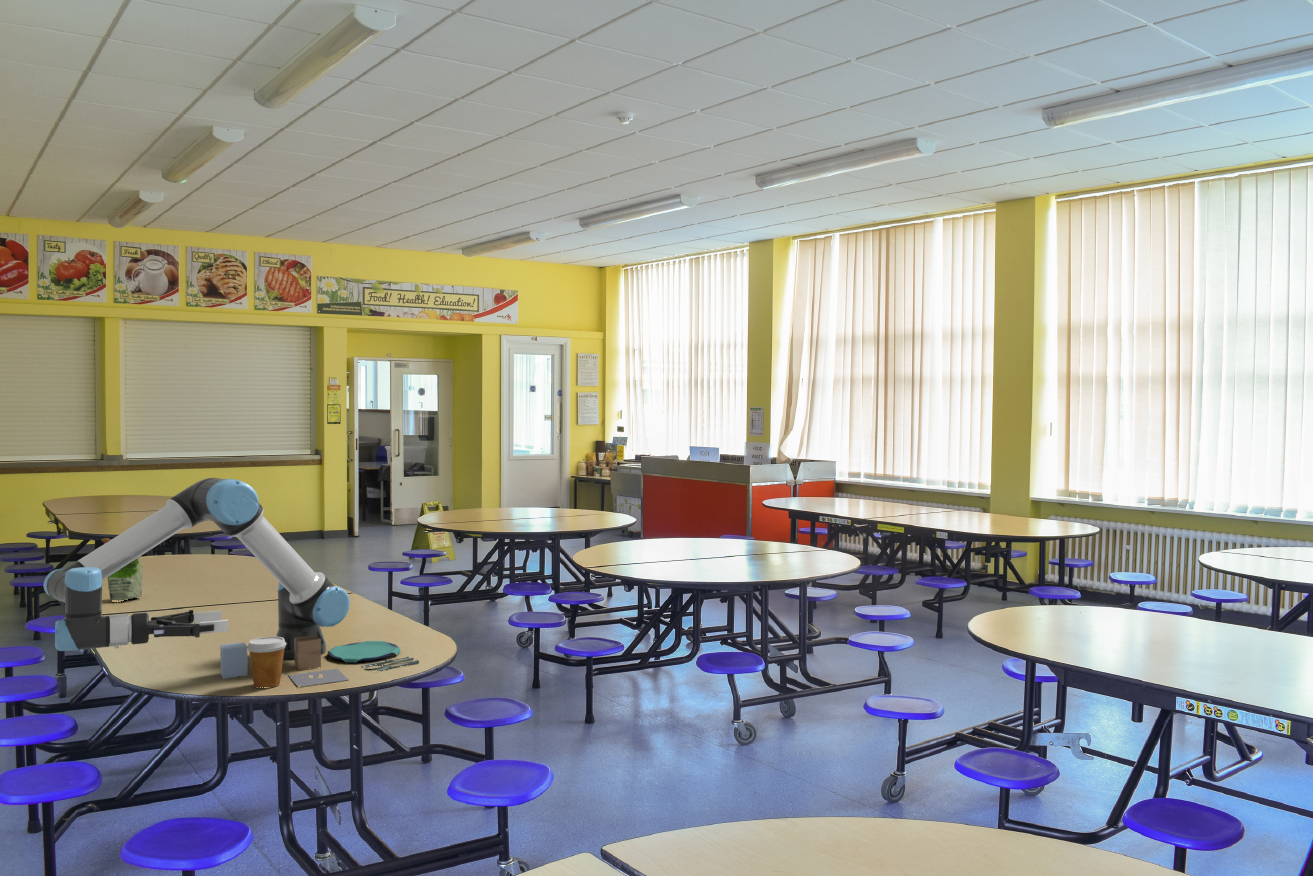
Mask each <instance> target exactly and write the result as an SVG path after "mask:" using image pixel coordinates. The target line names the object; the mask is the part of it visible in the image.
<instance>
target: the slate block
mask: <svg viewBox="0 0 1313 876" xmlns="http://www.w3.org/2000/svg"><path fill="white" fill-rule="evenodd" d="M247 646H248V645H247V644H246V642H245V641H244V642H243V641H242V642H233V643H225V644H220V648H219V649H220V675H221V677H222V679H232V678H231V677H233V678H239V677H238V676H240V677H245V675H247V676H248V648H247Z"/></svg>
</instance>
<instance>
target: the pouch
mask: <svg viewBox="0 0 1313 876" xmlns="http://www.w3.org/2000/svg"><path fill="white" fill-rule="evenodd" d="M112 539H113V538H112ZM112 539H110V538H108V537H104V538H101V541H102V543H103V545H104V544H105V543H107V542H109V541H110V540H112ZM106 579H107V585H108V587H107V589H108V591H109V593H108V594H109V600H110V601H111V600H118V601H119V600H127V599H132V600H134V599H133V598H137V597H141V598H142V593H143V566H142V555H141V556H140V557H138V558H137V559H135V560H133V561H132V562H130V563H129V564H127V565H126V566H124V567H123V568H121V569H119V570H118V571H116V572H115V573H113V574H112V575H110V576H108V577H107V578H106ZM127 601H128V600H127Z"/></svg>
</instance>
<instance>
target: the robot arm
mask: <svg viewBox="0 0 1313 876" xmlns="http://www.w3.org/2000/svg"><path fill="white" fill-rule="evenodd" d="M264 511H265V510H264V506H262V504H261V503H260V502H259V496H258V494H257V492H256V490H255V489H254V488H253V487H252V486H251V485H249V484H248V483H247V482H244V481H241V480H239V479H235V478H234V479H232V478H217V477H208V478H204V479H201V480H198V481H196V482H194V483H193V484H192V485H190V486H188V487H186V488H185V489H182V491H180V492H178V493H176V494H175V495H174V496H172V497H170V498H168V500H166V504H165V506H163V507H162V508H160V509H158V510H157V511H156V512H154V513H152V514H151V515H149V516H147V517H146V518H144V519H142V520H140V521H139V522H137V523H135V525H133V526H131V527H129V528H128V529H126V530H125V531H124V532H122V533H119V534H118V535H117V536H115V537H114V538H112V540H110V541H109V542H107V543H105V544H104V543H103V545H101V546H99V547H97V548H96V549H94V550H92V551H91V552H90V553H88V554H86V555H85V556H83V557H81V558H80V559H78V560H77V561H75V562H73V563H71V564H70V565H68V566H66V567H65V568H64V567H63V568H58V569H54V570H53V571H50V572H49V573H48V574H47V575H46V577H45V578H44V580H43V589H44V592H45V593H46V594H47V595H48V596H49V597H50V598H51V599H52V600H55V601H58V602H59V601H60V602H62V603H64V607H65V608H64V611H65V613H64V618H62V619H58V620H57V621H55V626H54V630H55V631H54V647H55V649H56V650H57V651H59V652H67V651H70V652H71V651H84V650H93V649H101V648H110V647H113V648H114V649H118V648H119V646H120V647H121V646H127V645H129V643H130V644H131V645H142V644H147V643H148V642H149V639H150V636H149V635H153V637H154V638H163V637H164V638H166V637H172V638H174V637H194V638H198V639H199V638H200V636H201V634H202V635H203V634H210V633H211V634H213V633H222V632H229V630H230V629H229V622H230V621H229V619H223V618H222V615H223V614H222V613H223V611H222V609H221V610H210V611H200V612H194V609H189V610H188V611H184V612H179V613H174V614H168V615H162V616H161V615H160V616H152V617H150V619H149V613H148V612H139V613H132V614H130V615H129V614H127V613H121V614H113V615H111V614H110V615H104V616H103V615H102V613H103V612H102V611H103V606H102V605H103V583H104V581H103V580H105V579H108V578H107V577H108V576H110V575H112V574H113V573H115V572H116V571H118V570H119V569H121V568H123V567H124V566H126V565H127V564H129V563H130V562H132V561H133V560H135V559H137V558H138V557H140V556H141V557H142V555H144V554H146V553H148V552H149V551H151V550H152V549H153V548H155V547H157V546H158V545H160V544H161V543H163V542H164V541H167V540H168V539H169V538H172V536H174V535H176V534H178V533H179V532H180V531H181V530H183V529H186V530H187V529H188V530H191V528H194V527H195V526H196V525H199V524H201V523H204V522H207V521H210V522H213V523H214V524H215V525H216V526H217V527H218V528H219V529H220V530H221V531H222V532H223V533H224V535H226V536H227V537H229V538H230V537H235V538H236V539H238V540H239V541H240V542H241V543H242V545H244V546H245V548H246V549H247V550H248V551H249V552H250V553H252V555H253V556H254V557H255V558H256V559H257V560H258V561H259V562H260V563H261V564H262V565H263V566H264V567H265V568H266V570H268V571H269V573H270V574H271V575H272V576H273V577H274V578H275V579H276V580H277V581H278V587H277V588H278V589H277V600H278V602H277V606H278V608H277V611H278V612H277V613H278V625H277V626H278V628H277V632H276V635H275V637H282V638H284V640H285V642H286V646H285V648H284V656H283V660H284V659H286V660H290V659H292V660H293V659H294V638H297V637H306V636H315V635H316V636H318V637H319V638H320V639H321V655H322V654H324V653H325V652H326V650H327V642H326V639H325V637H324V634H323V630H322V628H321V627H323V628H325V627H326V628H330V627H335V626H337V625H338V624H340V623H342V621H343V620H344V619H345V618H346V617H347V615H348V614H349V610H350V604H351V599H350V596H349V594H348V592H347V591H346V590H345V588H342V587H340V586H339V585H338V586H337V585H334V583H333V582H332V581H331V580H330V579H329V578H328V577H327V576H326V575H325V574H324V573H323V572H320V571H317V572H315V571H314V570H313V569H312V568H311V567H310V566H309V564H308V563H307V562H306V561H305V559H303V557H301V555H300V554H298V553H297V551H296V550H295V549H294V548H293V547H292V546H291V545H290V544H289V542H288V541H286V539H285V538H284V537H283V536H282V535H281V534H280V532H278V530H276V529H275V527H274V526H273V525H272V524H271V523H270V522H269V520H267V518H266V517H264Z"/></svg>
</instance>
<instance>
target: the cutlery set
mask: <svg viewBox="0 0 1313 876" xmlns="http://www.w3.org/2000/svg"><path fill="white" fill-rule="evenodd" d="M400 653H401V648H400V647H399V646H398V645H397V644H395V643H391V642H387V641H385V640H365V641H359V642H353V643H352V642H351V643H348V644H342V645H337V646H334V647H332V648H330V649H329V650H327V654H328V655H329V656H330V657H331V658H332V659H336V660H337V661H338V660H339V661H343V662H345V663H347V664H349V663H351V664H353V663H354V664H356V663H357V662H367V661H368V662H369V661H376V660H381V659H384V658H387V657H390V656H393V655H394V654H396V656H397V655H398V656H399V655H400ZM404 662H405V663H404ZM400 663H403V664H400ZM417 663H418V664H420V661H419V659H416V660H414V657H409V656H404V657H401V658H394V659H387V660H386V659H385V660H383V661H378V662H377V661H376V662H373V663H368V664H363V665H360V668H361V667H362V668H364V667H363V666H367V667H365V669H366V670H368V669H367V668H369V667H371V666H369V665H372V666H378V667H372V669H375V670H377V671H380V672H384V671H383V670H386V671H389V670H392V669H396V668H401V667H400V666H404V667H408V666H412V665H417ZM375 664H377V665H375ZM396 664H397V665H396ZM382 665H383V668H382ZM386 665H388V666H386ZM407 665H408V666H407ZM379 666H380V667H379ZM379 668H380V669H379ZM369 669H370V668H369ZM388 669H389V670H388Z"/></svg>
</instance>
